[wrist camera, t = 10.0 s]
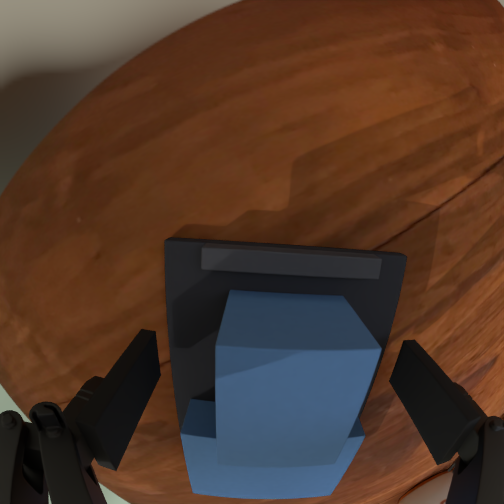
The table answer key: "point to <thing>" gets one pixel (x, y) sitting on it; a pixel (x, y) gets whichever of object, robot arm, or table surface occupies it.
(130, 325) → the table surface
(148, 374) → the robot arm
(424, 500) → the white patterned vase
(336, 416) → the blue block
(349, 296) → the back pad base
